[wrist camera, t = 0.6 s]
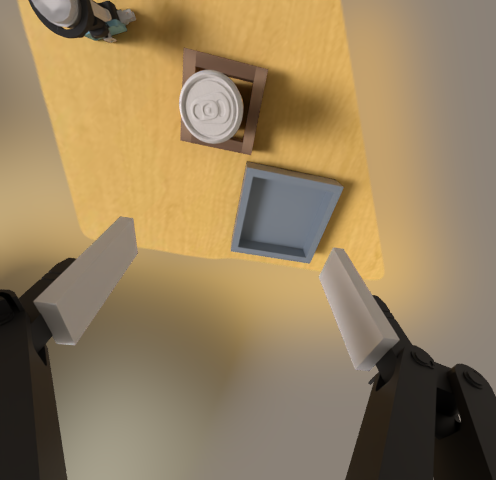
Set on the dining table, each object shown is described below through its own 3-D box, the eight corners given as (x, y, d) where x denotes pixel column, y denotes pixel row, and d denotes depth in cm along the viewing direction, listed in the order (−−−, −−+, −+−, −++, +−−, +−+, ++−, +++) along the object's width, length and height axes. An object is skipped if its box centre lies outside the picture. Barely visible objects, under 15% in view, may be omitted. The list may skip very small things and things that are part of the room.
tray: (246, 161, 37) (247, 167, 34) (335, 179, 39) (343, 186, 35) (231, 240, 45) (230, 251, 42) (305, 251, 47) (309, 263, 44)
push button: (126, -13, 26) (70, -67, 18) (146, 45, 29) (106, 22, 20) (76, 4, 27) (-1, -41, 18) (100, 58, 30) (43, 41, 21)
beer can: (246, 126, 34) (247, 140, 21) (208, 132, 35) (186, 149, 22) (240, 78, 31) (237, 62, 18) (198, 85, 31) (166, 74, 19)
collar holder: (189, 52, 29) (183, 47, 26) (265, 72, 31) (268, 69, 28) (185, 137, 35) (180, 140, 32) (250, 150, 36) (250, 155, 33)
